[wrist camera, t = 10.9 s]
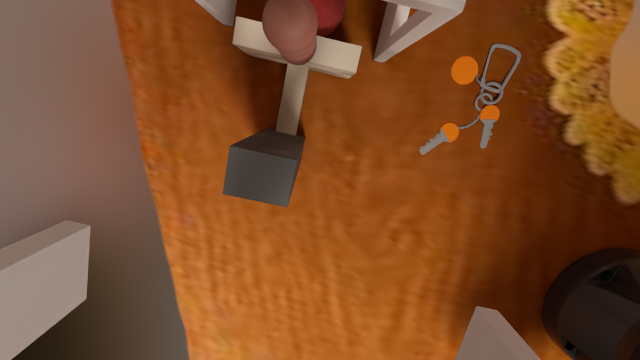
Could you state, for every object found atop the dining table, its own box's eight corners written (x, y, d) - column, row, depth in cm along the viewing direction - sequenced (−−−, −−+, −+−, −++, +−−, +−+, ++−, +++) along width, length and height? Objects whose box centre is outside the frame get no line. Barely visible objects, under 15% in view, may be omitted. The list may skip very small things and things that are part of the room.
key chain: (463, 29, 30) (467, 27, 29) (529, 55, 30) (535, 53, 30) (413, 151, 33) (415, 152, 32) (474, 172, 33) (478, 174, 32)
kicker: (354, 51, 29) (387, 5, 16) (327, 169, 32) (334, 218, 19) (253, 27, 29) (195, -44, 15) (234, 149, 32) (171, 184, 18)
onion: (276, -14, 28) (261, -59, 21) (337, -24, 28) (344, -73, 20) (287, 51, 30) (276, 33, 22) (345, 42, 30) (355, 20, 22)
